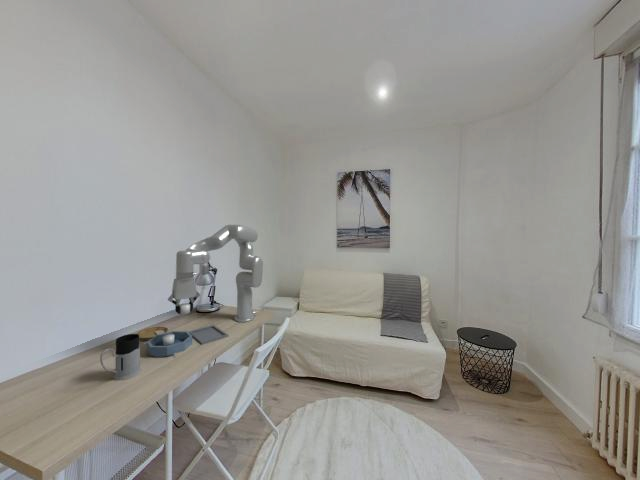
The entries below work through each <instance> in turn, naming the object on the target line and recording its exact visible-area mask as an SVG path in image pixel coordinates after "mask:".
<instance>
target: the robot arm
mask: <svg viewBox="0 0 640 480" xmlns="http://www.w3.org/2000/svg"><path fill="white" fill-rule="evenodd" d="M258 235H259V234H258V232H257V230H256V229H253V228H251V227H247V226H245V225H240V224H226V225H225V226H223V227H222V228H220V229H219V230H218V231H216V232H215V233H213V234H212V235H211V236H209V237H206V238H203V239H201V240H199V241H196V242H195V243H193V244H192V245H190V246H189V247H188V248H187V249H185V250H179V251H177V252H176V255H175V256H176V259H175V261H176V265H175V271H176V272H175V274H176V275H175V278H173V282H172V288H171V290H172V291H171V294H170V295H169V296H168V298H167V301H168V302H170V303H172V304H173V305H175V313H177V314H178V315H181V314H180V304H181V300H185V299H188V300H189V302H188V303H189V304H190V312H193V309H194V303H195V301H197V299H199V297H200V296H201V294H200V293H199V292H198V291H197V283H196V278H195V277H194V276H197V272H195V271H194V265H206V264H207V263H208V262H209V261H210V260H211V254H210V253H209V252H210V251H216V250H219V249H222V248H224V246H226V245H227V244H228V243H229V242H230V241H232V240H234V242H236V243H237V244H238V247H239V261H238V265H239V268H240V269H242V270H247V271H239V272H238V273H237V274H236V276H235V284H236V292H237V294H236V297H237V298H236V299H237V300H236V302H237V303H236V306H237V307H236V316H235V317H234V321H235V322H237V323H238V322H239V323H245V322H251V321H252V320H254V319H255V315H257V314H259V310H253V291H252V288H259V287H260V286H261V285H262V283H263V273H264V262H263V259H262V258H261V256H257V255H254V247H253V246H254V245H253V244H252V243H255V242H256V241H257V240H258V237H259V236H258Z"/></svg>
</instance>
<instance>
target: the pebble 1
mask: <svg viewBox="0 0 640 480" xmlns="http://www.w3.org/2000/svg"><path fill="white" fill-rule="evenodd" d="M173 344H174V335H173V334H168V335H165V336H163V346H170V345H173Z"/></svg>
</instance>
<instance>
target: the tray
mask: <svg viewBox="0 0 640 480" xmlns="http://www.w3.org/2000/svg"><path fill="white" fill-rule="evenodd" d="M188 332H189V333H190V334H191V335H192V338H194V339H195V340H196V341H197V342H198V343H199V344H201V345H206V344H208V343H212V342H215V341H219V340H222V339H225V338H229V334H228V333H227V332H225V331H224V330H222V329H221V328H219V327H218V326H216V325H215V324H212V325H209V326H206V327H205V326H204V327H201V328H198V329H197V328H196V329H194V330H189V331H188Z"/></svg>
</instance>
